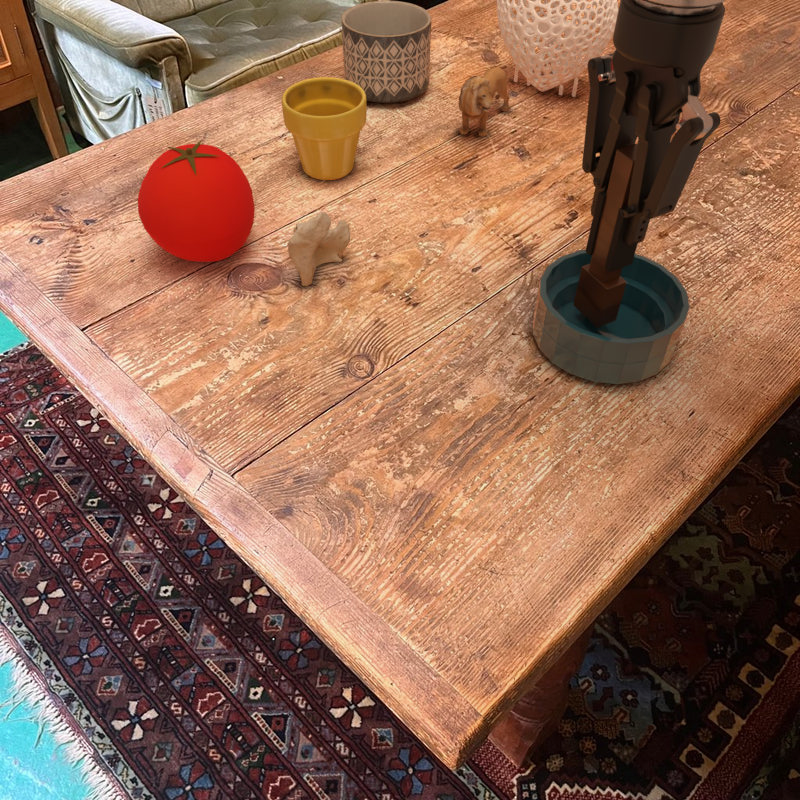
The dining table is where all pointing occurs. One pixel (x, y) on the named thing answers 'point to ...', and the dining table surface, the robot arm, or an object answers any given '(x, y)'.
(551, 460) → the dining table surface
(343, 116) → the flower pot
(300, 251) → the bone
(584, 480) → the dining table surface
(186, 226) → the tomato
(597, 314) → the stirring stick
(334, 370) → the dining table surface
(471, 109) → the lion figurine
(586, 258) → the bowl
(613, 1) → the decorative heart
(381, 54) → the planter
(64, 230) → the dining table surface
